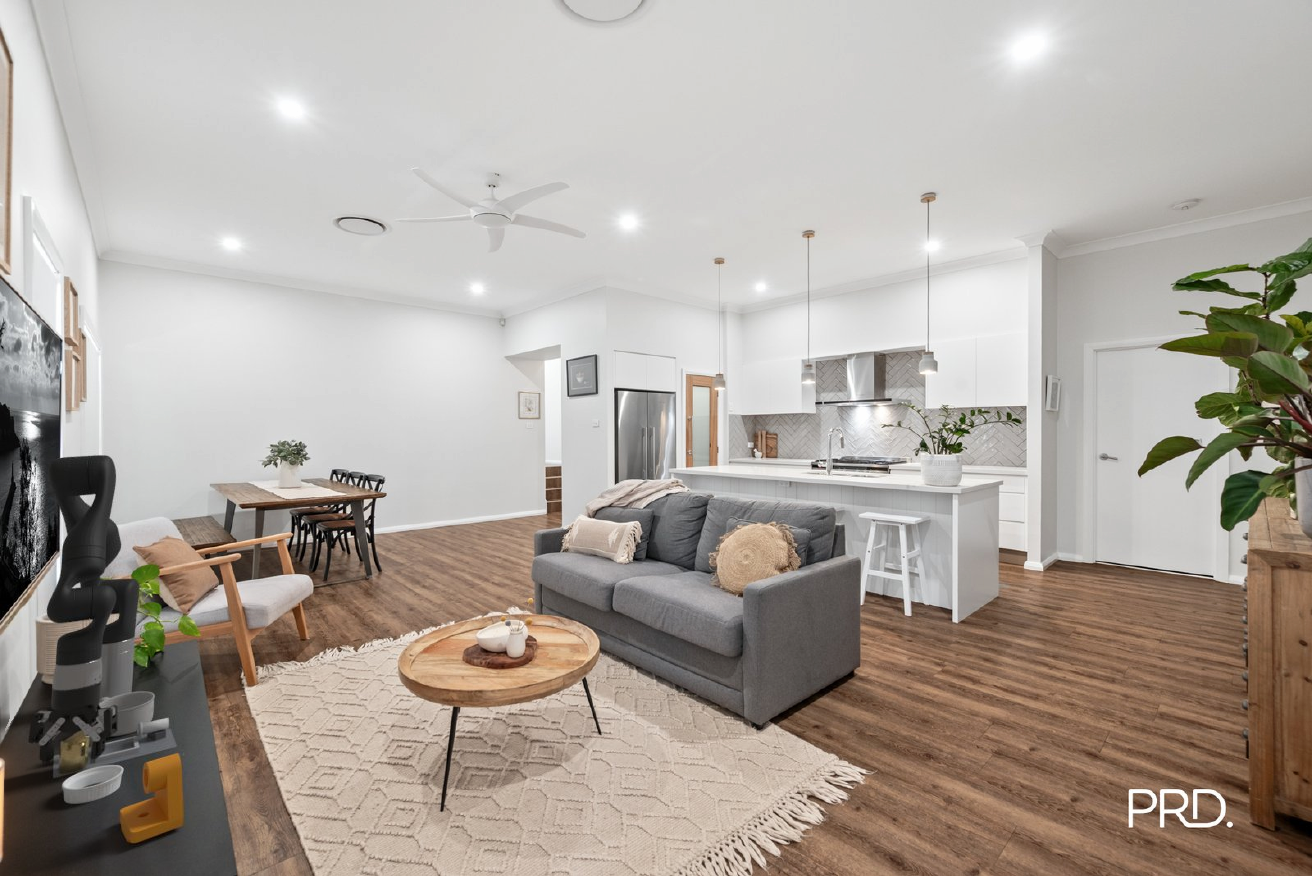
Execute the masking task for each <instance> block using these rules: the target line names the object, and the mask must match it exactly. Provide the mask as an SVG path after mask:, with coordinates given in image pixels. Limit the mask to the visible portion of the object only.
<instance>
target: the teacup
mask: <svg viewBox="0 0 1312 876" xmlns="http://www.w3.org/2000/svg"><path fill="white" fill-rule="evenodd" d="M155 696H156V695H155V694H154V692H151V691H144V690H142V691H132V692H131V693H126V694H122V695H118V696H115V697H112V698H108V697H104V698H102V699H100V701H99V705H100V707H101V708H107V707H111V706H113V705H116V706H117V714H118V730H117V732H115V733H114V734H112V735H111V736H110V737H109V738H111V737H114V738H115V737H121V736H125V735H129V734H133V733H137V726H138V723H141V722H142V724H143V723H147V722H151V721H152V720H153V717H154V710H155ZM97 718H98V719H99V720H100V722H101V723H102V726H103V728H104V719H102V718H101V715H100V714H99V715H98V716H97Z"/></svg>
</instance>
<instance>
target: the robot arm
mask: <svg viewBox="0 0 1312 876" xmlns="http://www.w3.org/2000/svg"><path fill="white" fill-rule="evenodd" d="M49 463H50V464H49V466H48V469H47V470H48V471H47V472H48V480H49V484H50V488H51V489H52V490H51V491H52V492H53V495H54V498H55V500H56V502H57V505H58V507H59V509H60V512H61V514H62V519H63V520H64V525H65V526H64V527H65V530H66V536H65V538H64V541H63V542H62V543H63V544H62V547H61V562H60V564H61V565H60V574H59V577H58V581H57V583H56V586H55V588H54V591H53V593H52V595H51V596H50V599H49V601H48V603H47V607H46V616H47V618H48V619H49V620H50V621H51V622H53V623H55V624H66V623H74V622H83V621H90V620H91V622H90V623H89V624H88V625H86V626H85V627H82V628H80V629H77V630H73V631H70V632H68V633H64V634H62V635H61V636H60V637H59V638H58V639H57V642H56V653H55V666H54V670H53V674H52V687H51V689H52V690H51V701H50V708H51V710H50V711H49V710H47V709H46V708H45V709H40V710H38V712H35V713H34V714H32V716H31V720H30V726H29V733H28V743H29V744H34V743H35V744H38V745H39V747H40V748H39V760H40V761H41V763H42V764H46V763H49V762H51V761H52V760H54V756H55V755H54V754H55V742H56V741H55V740H54V739H55V738H56V737H57V735H59V734H60V733H64V734H65V733H68V732H75V733H77V732H78V731H81V730H83V732H84V733H85V734H87V735H86V736H89V735H90V736H91V738H92V739H93V740H94V741H93V742H92V755H91V759H97V758H98V757H99V756H101V754H102V753H103V752H104V751H105V743H106V738H107V739H108V738H111V737H110V736H111V735H112V734H114V733H115V732H117V730H118V714H117V706H116V705H113V706H111V707H107V708H101V707H100V705H99V701H100V699H102V698H104V697H108V698H112V697H115V696H118V695H122V694H126V693H131V692H133V691H132V690H133V677H134V676H133V675H134V660H135V659H134V658H135V639H136V637H135V635H136V625H137V614H138V607H139V601H140V599H139V598H140V583H139V580H138V579H135V578H116V579H115V578H114V579H113V578H112V579H110V578H109V579H103V578H101V576H102V575H103V574H105V572H106V569H107V567H109V565H110V564H111V563H113V562H114V560H115V559H116V558H117V557H118V555H119V553H120V551H121V549H122V540H121V537H120V536H121V535H120V530H119V526H117V523H115V522H114V520H112V519H111V513H112V508H113V503H114V496H115V491H116V485H117V472H116V471H117V470H116V465H115V462H114V460H113V458H112V457H110V456H109V455H105V454H104V455H103V454H102V455H101V454H100V455H99V454H97V455H95V454H94V455H80V456H79V455H78V456H64V457H58V458H55V459H53V460H52V461H51V462H49ZM91 495H94V499H93V501H92V503H91V505H90V504H88V503H86V502H85V501H84V499H83V498H82V497H81V496H91ZM77 584H79V586H80V587H75V586H76V585H77ZM74 587H75V588H74ZM117 614H118V619H116V620H114V621H113V622H110V623H108V621H109V619H110V616H111V615H117ZM99 714H100V715H101V718H102V719H104V728H103V726H102V723H101V722H100V720H99V719H98V718H97V716H98V715H99ZM48 720H50V721H51V723H52V724H53V725H52V726H51V727H50V728H49V729H48V731H47V732H46V733H45V730H46V722H47V721H48ZM91 725H92V726H91Z"/></svg>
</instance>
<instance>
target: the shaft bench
mask: <svg viewBox="0 0 1312 876" xmlns="http://www.w3.org/2000/svg"><path fill="white" fill-rule="evenodd" d="M169 719H170V718H169V717H164V718H162V719H160V718H159V719H156V720H153V721H152V720H151V722H147V723H143V724H142V722H141V723H138V726H137V731H136V733H137V734H136V735H134V736H131V737H127V738H121V739H118V740H114V741H109V742H105V751H104V752H103V753H102V754H101V756H99V757H98V758H97V759H91V755H92V742H93V741H94V740H93V739H92V738H91V736H90V735H86V736H85V737H89V749H88V765H87V766H86V767H85V768H83V769H81V770H79V771H76V772H72V773H67V774H61V773H59V757H60V753H59V754H55V755H54V757H53V767H52V776H53V777H52V778H53V779H55V778H61V777H64V776H67V775H71V774H75V773H76V774H77V773H80V772H82V771H85V770H88V769H91V768H95V767H100V766H106V765H113V764H115V763H119V762H123V761H126V760H131V759H134V758H139V757H144V756H147V755H152V754H154V753H159V752H161V751H166V750H171V749H174V748H177V747H178V745H177V743H176V740H175V738H174V734H173V732H172V728H169V727H170V720H169ZM64 741H65V740H64ZM64 741H63V740H61V741H60V744H61V743H62V742H64Z"/></svg>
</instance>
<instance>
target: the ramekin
mask: <svg viewBox="0 0 1312 876" xmlns="http://www.w3.org/2000/svg"><path fill="white" fill-rule="evenodd" d="M123 773H124V767H122V766H121V765H118V764H117V765H116V764H108V765H104V766H100V767H95V768H91V769H88V770H84V771H80V772H76V774H75V773H74V775H71V776H70V777H68V778H66V779H65V780H64V781H63V782H62V784H61V789H62V791H63V799H64V802H65V803H67V804H73V805H74V804H78V805H79V804H85V803H89V802H93V801H96V800H99V799H102V798H104V797H108V796H109V795H112V793H114V792H115V791H117V790H118V789H119V788H120V786H121V782H122V775H123Z"/></svg>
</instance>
